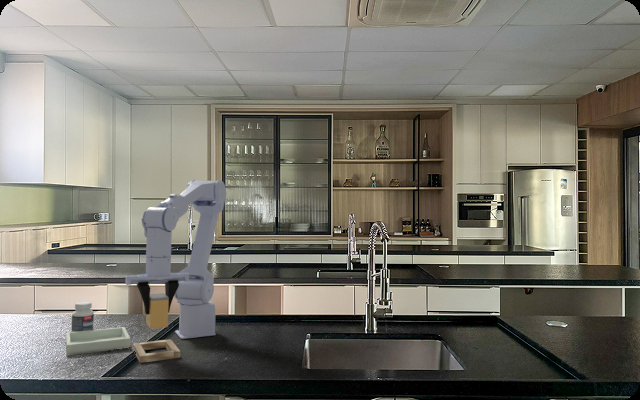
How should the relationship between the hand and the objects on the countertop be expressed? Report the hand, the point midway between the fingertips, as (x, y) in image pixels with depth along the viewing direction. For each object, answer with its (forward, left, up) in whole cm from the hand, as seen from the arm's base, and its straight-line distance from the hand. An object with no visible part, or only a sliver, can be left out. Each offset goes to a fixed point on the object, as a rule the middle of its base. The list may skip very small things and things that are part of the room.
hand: (157, 312), depth 114 cm
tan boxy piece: (0, 0, -3) cm, 3 cm away
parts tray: (+12, -13, -10) cm, 20 cm away
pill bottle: (+15, -24, -10) cm, 30 cm away
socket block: (0, 0, -10) cm, 10 cm away
